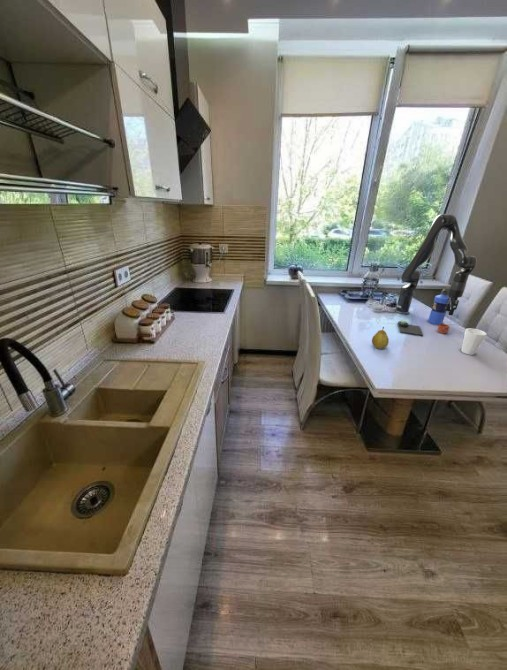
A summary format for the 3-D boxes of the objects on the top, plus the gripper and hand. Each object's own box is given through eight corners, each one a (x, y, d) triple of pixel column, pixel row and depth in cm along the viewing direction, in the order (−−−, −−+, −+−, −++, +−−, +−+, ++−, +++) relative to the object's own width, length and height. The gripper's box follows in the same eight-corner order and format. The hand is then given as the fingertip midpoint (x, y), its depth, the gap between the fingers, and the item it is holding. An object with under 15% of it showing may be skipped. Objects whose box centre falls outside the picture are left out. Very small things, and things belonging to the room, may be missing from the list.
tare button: (400, 322, 193) (400, 320, 193) (405, 323, 192) (406, 321, 191) (400, 324, 190) (401, 321, 189) (406, 324, 189) (407, 322, 188)
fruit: (380, 351, 156) (385, 332, 151) (367, 345, 163) (371, 326, 158) (390, 348, 160) (395, 329, 155) (377, 342, 167) (382, 324, 162)
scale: (397, 323, 196) (397, 320, 195) (418, 327, 191) (419, 323, 190) (398, 332, 182) (399, 328, 181) (422, 336, 178) (423, 332, 176)
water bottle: (428, 323, 198) (439, 289, 188) (426, 319, 206) (437, 286, 196) (443, 325, 195) (455, 291, 185) (441, 321, 203) (452, 288, 192)
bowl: (435, 329, 188) (438, 323, 186) (446, 331, 186) (448, 324, 184) (437, 333, 183) (440, 326, 180) (448, 334, 181) (450, 327, 178)
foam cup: (474, 350, 161) (482, 329, 156) (480, 357, 153) (489, 336, 148) (455, 347, 164) (463, 327, 159) (460, 354, 156) (469, 333, 151)
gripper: (467, 292, 164) (458, 317, 171) (461, 286, 176) (452, 310, 183) (452, 290, 167) (444, 315, 173) (447, 285, 179) (439, 308, 186)
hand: (448, 313), depth 178 cm, fingers open, 8 cm apart
